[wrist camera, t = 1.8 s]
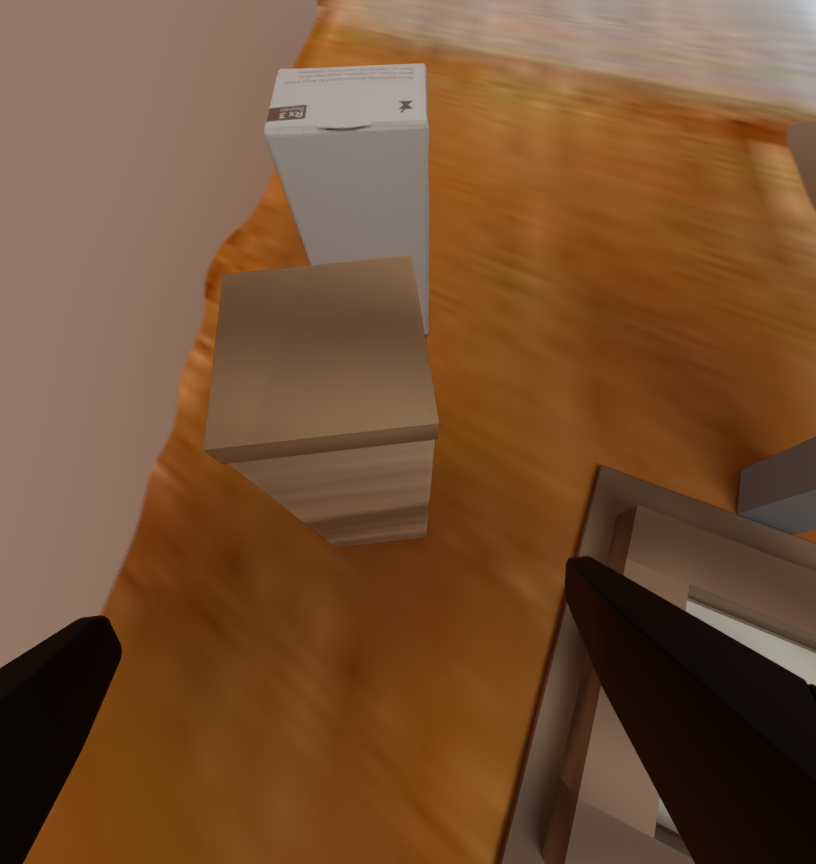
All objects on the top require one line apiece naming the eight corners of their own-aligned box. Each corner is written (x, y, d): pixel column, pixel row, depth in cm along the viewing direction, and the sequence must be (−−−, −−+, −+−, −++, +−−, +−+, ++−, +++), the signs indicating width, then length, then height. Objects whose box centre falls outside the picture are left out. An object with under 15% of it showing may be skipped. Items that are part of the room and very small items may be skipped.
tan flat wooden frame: (1031, 1239, 11) (1181, 1392, 9) (486, 908, 14) (498, 962, 12) (957, 599, 18) (1032, 598, 16) (598, 468, 21) (619, 451, 19)
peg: (427, 537, 20) (439, 422, 8) (334, 549, 19) (203, 450, 8) (416, 451, 22) (412, 254, 10) (331, 461, 21) (222, 274, 10)
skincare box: (427, 286, 26) (433, 52, 15) (429, 341, 25) (437, 119, 14) (335, 288, 27) (276, 57, 16) (330, 343, 25) (258, 125, 14)
